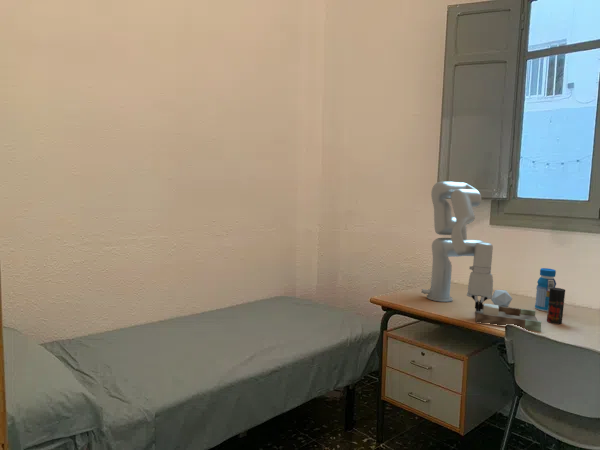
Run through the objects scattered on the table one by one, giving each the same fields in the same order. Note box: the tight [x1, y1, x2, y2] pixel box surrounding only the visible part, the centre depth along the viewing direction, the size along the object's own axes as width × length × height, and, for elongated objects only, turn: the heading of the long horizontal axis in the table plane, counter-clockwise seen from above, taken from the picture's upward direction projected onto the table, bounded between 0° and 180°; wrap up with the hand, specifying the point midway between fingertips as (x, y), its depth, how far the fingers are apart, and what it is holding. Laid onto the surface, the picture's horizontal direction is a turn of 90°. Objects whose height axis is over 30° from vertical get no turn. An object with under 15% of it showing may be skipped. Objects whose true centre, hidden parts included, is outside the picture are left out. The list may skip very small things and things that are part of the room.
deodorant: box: [546, 287, 566, 325], centre depth 210 cm, size 6×6×15 cm
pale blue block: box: [483, 302, 499, 316], centre depth 211 cm, size 6×6×4 cm
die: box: [490, 289, 513, 307], centre depth 233 cm, size 8×9×10 cm
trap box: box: [475, 303, 542, 332], centre depth 209 cm, size 25×19×4 cm
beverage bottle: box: [534, 267, 557, 313], centre depth 231 cm, size 8×8×20 cm
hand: (478, 310), depth 212 cm, fingers closed
